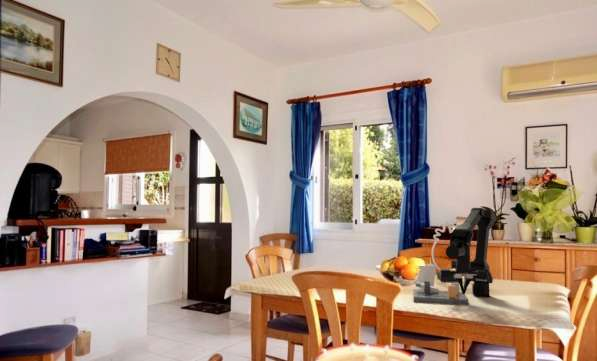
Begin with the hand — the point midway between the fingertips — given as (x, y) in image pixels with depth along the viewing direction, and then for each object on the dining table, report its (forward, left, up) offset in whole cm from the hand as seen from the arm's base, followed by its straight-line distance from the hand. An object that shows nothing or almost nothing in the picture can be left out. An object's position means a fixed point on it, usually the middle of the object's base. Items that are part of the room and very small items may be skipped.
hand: (463, 294), depth 184 cm
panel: (+10, -4, -4) cm, 11 cm away
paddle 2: (+5, 0, -2) cm, 5 cm away
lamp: (+3, -52, -4) cm, 52 cm away
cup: (+15, -23, -4) cm, 28 cm away
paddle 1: (+3, -8, -2) cm, 9 cm away
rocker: (+15, -8, +1) cm, 17 cm away
